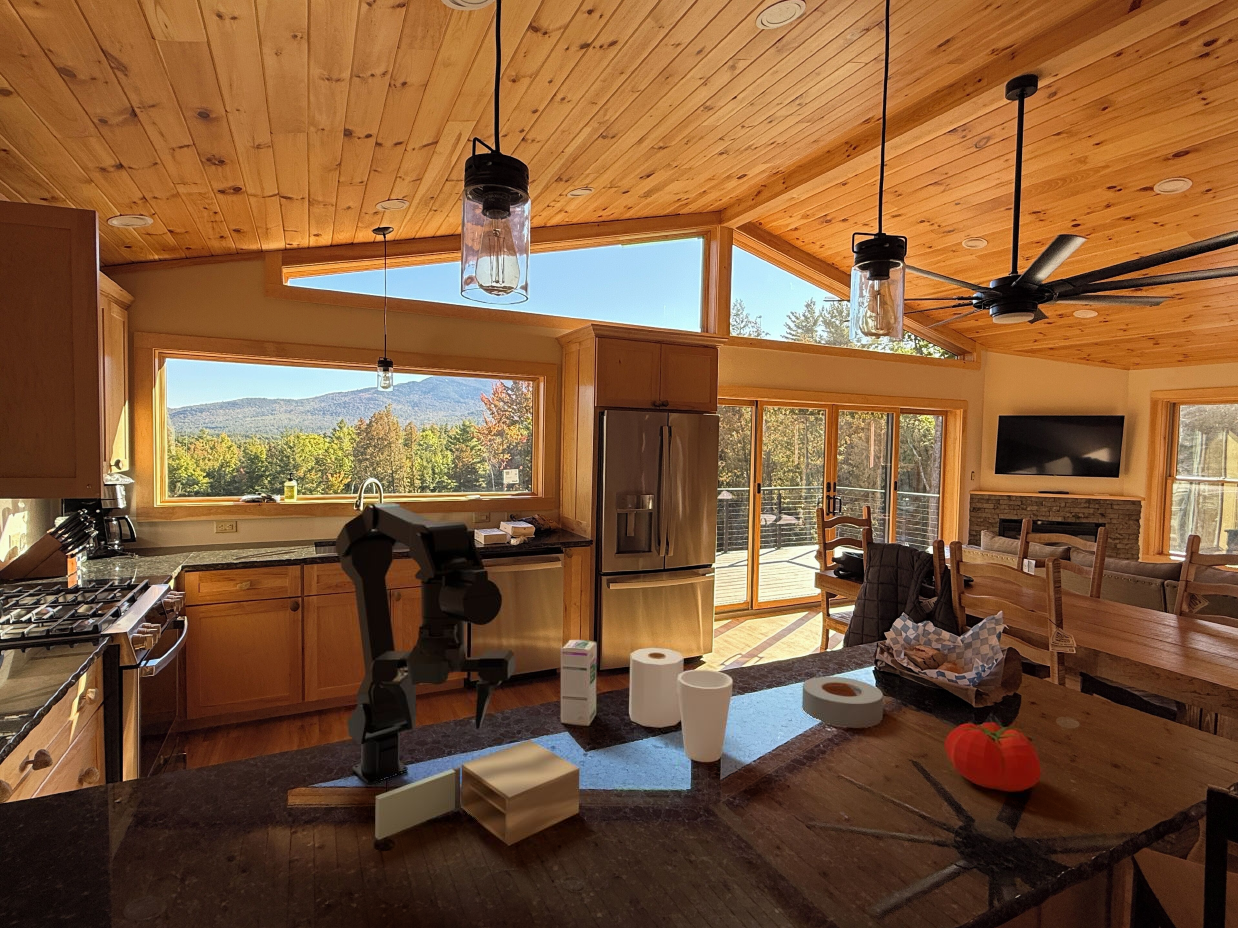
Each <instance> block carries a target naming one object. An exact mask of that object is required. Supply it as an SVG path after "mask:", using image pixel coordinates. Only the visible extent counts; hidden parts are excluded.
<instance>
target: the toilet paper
mask: <svg viewBox="0 0 1238 928" xmlns="http://www.w3.org/2000/svg"><path fill="white" fill-rule="evenodd" d="M629 657H630V660H629V661H630V662H629V663H630V664H629V695H628V696H629V701H628V702H629V704H628V714H629V718H630V720H631V721H632V722H634V723H635V724H638V725H641V726H643V727H652V728H660V729H661V728H664V727H670V726H671V727H672V726H675V725H677V724H678V723H679V722H681V713H680V703H679V694H678V693H677V682H678V675H679V674H681V673H682V672H684V656H683V655H682V654H681V652H679V651H675V650H673V649H670V648H659V647H647V648H640V649H636V650H635V651H633V652H631V653H630V656H629Z"/></svg>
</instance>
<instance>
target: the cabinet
mask: <svg viewBox="0 0 1238 928" xmlns="http://www.w3.org/2000/svg"><path fill="white" fill-rule="evenodd" d="M579 807H580V767H579V766H577V765H575V764H573V763H571V762H570V761H568V760H566V759H564V758H563V757H562V756H559V755H557V754H556V753H554V752H552V751H551V750H548V749H546V748H545V747H543V746H541V745H539V744H538V743H536V742H534V741H533V740H531V739H528V740H525V741H522V742H520V743H517V744H514V745H511V746H509V747H508V746H507V747H506V748H503V749H500V750H498V751H494V752H492V753H489V754H486V755H483V756H481V757H478V758H475V759H472V760H469V761H467V762H464V763H461V782H460V808H463V809H464V810H465V811H466V812H467V814H468V815H469V814H470V815H471V816H472V818H473V817H474V818H475V819H476V820H477V821H476V820H475V819H474V818H473V819H474V820H475V821H476V822H478V823H479V824H481V826H483V827H484V828H485V829H486V830H488V831H489V832H491V834H493V835H494V836H496V837H497V838H498V839H499V840H501V841H502V842H503V843H504V844H506V845H507V846H509V847H510V846H512V845H513V844H516V843H518V842H520V841H522V840H524V839H526V838H528V837H530V836H532V835H534V834H537V833H539V832H541V831H543V830H545V829H546V828H547V829H548V828H549V827H552V826H554V825H556V824H557V823H559V822H562V821H564V820H566V819H569V818H570V817H572V816H574V815H577V814H578V813H579V812H580V811H579ZM463 809H462V810H463ZM464 810H463V811H464ZM465 811H464V812H465ZM466 812H465V813H466ZM470 815H469V816H470ZM471 816H470V817H471Z"/></svg>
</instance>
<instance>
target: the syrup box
mask: <svg viewBox="0 0 1238 928" xmlns="http://www.w3.org/2000/svg"><path fill="white" fill-rule="evenodd" d="M597 645H598V644H597V642H596V641H594V640H593V641H592V640H586V639H569V640H568V642H566V643H565V644H564V645H563V647H561V648H560V723H561V724H566V725H567V724H568V725H575V726H576V725H577V726H585V727H586V726H590V725H591V723H592V722H593V720H594V718H595V716H596V715H597V681H598V680H597V671H598V670H597V655H598V654H597V649H598V648H597Z"/></svg>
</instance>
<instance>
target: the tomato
mask: <svg viewBox="0 0 1238 928" xmlns="http://www.w3.org/2000/svg"><path fill="white" fill-rule="evenodd" d="M1007 728H1009V727H1008V726H1006V727H1005V726H1003V727H1002V728H1001V727H999V725H998V724H996V723H995V722H984V723H982V724H977V723H976V724H974V723H972V722H968V723H963V724H960V725H958V726H957V727H955V728H954V729H953V730H951V732H950V733H949V734H948V735H947V736H946V737H945V741H944V749H945V753H946V755H947V757H948V759H949V760H950V762H951V763H952V765H953V767H954V768H955V770H956V771H957V772H958V773H959V774H960V775H961V776H962V777H963V778H965V779H966V780H969V781H970V782H972V784H975V785H977V786H980V787H984V788H987V789H991V790H992V789H993V790H998V791H1003V792H1013V793H1014V792H1022V791H1024V790H1028V789H1029V788H1032V787H1034V786H1036V784H1038V782H1039V781H1040V778H1041V775H1042V769H1041V764H1040V759H1039V755H1038V753H1037V751H1036V749H1035V747H1034V746H1033V744H1032V743H1031V742H1030V741H1029V740H1028V739H1027V738H1026V736H1025V735H1024V734H1023V733H1021V732H1019V731H1017V730H1015V729H1007Z"/></svg>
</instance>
